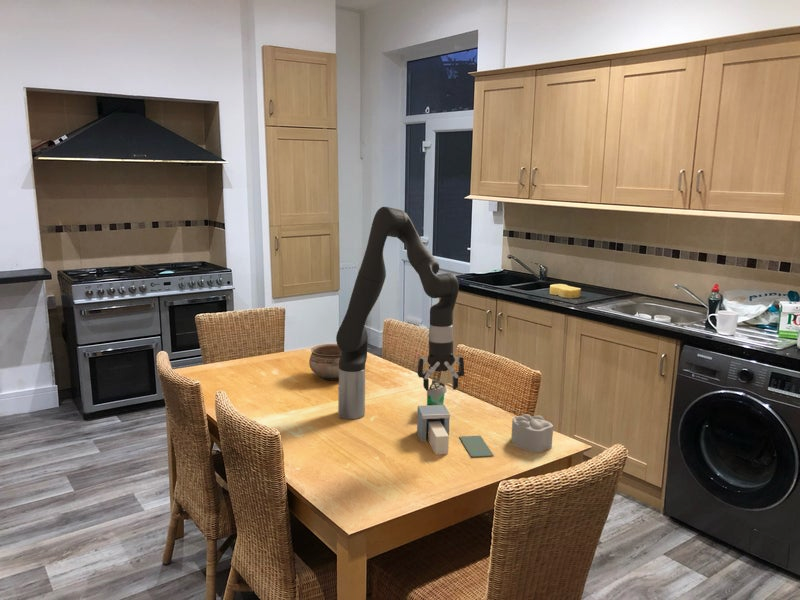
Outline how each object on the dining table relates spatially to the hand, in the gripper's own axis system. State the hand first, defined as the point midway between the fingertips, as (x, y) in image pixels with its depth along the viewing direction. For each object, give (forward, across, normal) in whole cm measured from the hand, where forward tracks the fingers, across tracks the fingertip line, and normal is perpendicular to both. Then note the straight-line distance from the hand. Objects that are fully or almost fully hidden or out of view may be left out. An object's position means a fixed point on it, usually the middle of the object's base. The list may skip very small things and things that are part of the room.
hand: (440, 389), depth 198 cm
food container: (+19, +4, +30) cm, 36 cm away
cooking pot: (+18, -34, +70) cm, 80 cm away
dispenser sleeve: (+19, -1, +9) cm, 21 cm away
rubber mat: (+19, +11, -1) cm, 22 cm away
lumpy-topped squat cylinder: (+20, +29, +1) cm, 35 cm away
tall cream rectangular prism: (+19, -1, 0) cm, 19 cm away
